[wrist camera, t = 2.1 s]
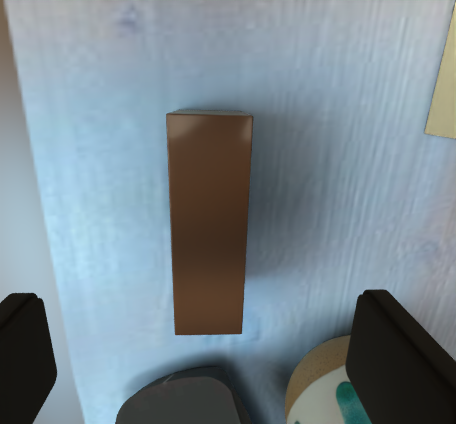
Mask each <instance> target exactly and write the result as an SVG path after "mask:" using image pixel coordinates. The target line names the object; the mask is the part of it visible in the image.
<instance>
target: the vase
mask: <svg viewBox="0 0 456 424" xmlns="http://www.w3.org/2000/svg"><path fill="white" fill-rule="evenodd" d="M350 336H351V335H347V336H341V337H337V338H334V339H331V340H328V341H326V342H323V343H322V344H320V345H318V346H316V347H315V348H313V349H312V350H311V351H309V352H308V353H307V354H306V355H305V356H304V357H303V358H302V360H301V361H300V362H299V364H298V365H297V366H296V368H295V370H294V371H293V373H292V375H291V378H290V381H289V384H288V387H287V392H286V399H285V419H286V424H372V423H371V421H370V419H369V418H368V416H367V414H366V412H365V410H364V408H363V406H362V404H361V402H360V400H359V398H358V396H357V394H356V392H355V390H354V388H353V386H352V384H351V382H350V380H349V378H348V376H347V373H346V369H345V362H346V357H347V352H348V346H349V341H350Z"/></svg>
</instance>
